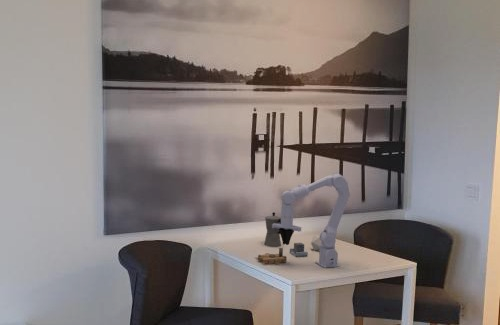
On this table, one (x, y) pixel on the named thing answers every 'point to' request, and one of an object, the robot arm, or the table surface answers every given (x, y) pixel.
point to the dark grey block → (298, 247)
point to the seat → (298, 253)
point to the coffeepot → (272, 231)
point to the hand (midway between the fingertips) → (286, 244)
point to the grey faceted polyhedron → (316, 243)
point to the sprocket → (273, 257)
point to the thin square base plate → (272, 263)
